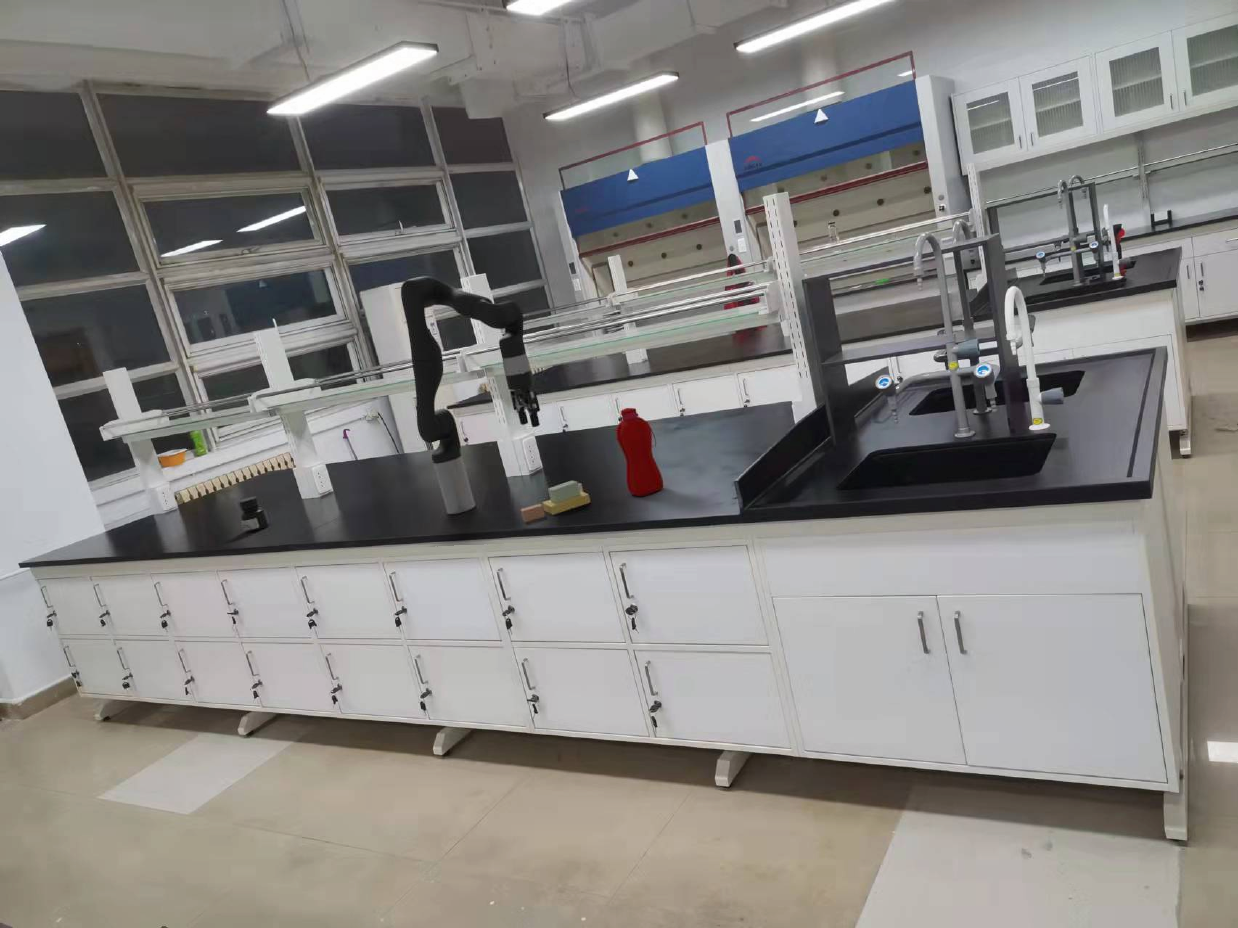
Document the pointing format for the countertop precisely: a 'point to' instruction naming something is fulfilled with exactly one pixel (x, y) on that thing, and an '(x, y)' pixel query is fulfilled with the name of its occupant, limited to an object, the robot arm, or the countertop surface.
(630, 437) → the water bottle
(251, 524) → the ink bottle
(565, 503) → the mustard base brick
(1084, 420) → the countertop surface
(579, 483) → the cream brick
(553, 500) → the sage brick
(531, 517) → the rust brick
